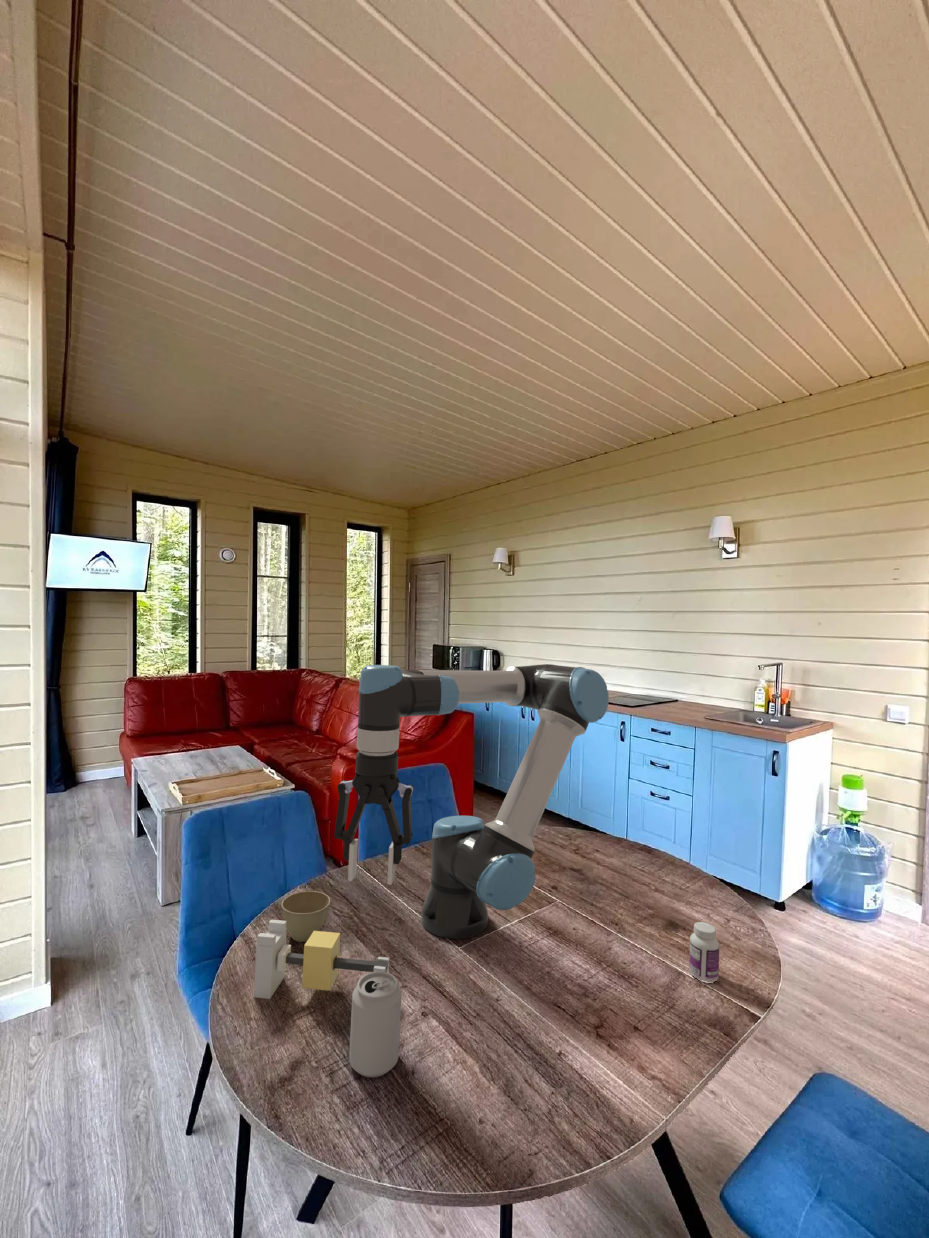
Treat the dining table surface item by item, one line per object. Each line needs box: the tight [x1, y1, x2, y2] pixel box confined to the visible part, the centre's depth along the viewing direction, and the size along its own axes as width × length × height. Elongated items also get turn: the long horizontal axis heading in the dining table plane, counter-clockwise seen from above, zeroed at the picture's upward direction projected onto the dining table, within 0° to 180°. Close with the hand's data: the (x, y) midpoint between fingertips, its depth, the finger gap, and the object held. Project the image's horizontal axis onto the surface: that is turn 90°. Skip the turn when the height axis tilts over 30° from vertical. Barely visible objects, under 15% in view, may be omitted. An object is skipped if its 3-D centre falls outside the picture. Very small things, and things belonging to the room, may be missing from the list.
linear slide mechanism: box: [253, 919, 390, 1000], centre depth 98 cm, size 23×6×11 cm, turn 85°
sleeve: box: [301, 930, 341, 992], centre depth 99 cm, size 5×5×7 cm
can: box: [348, 971, 403, 1078], centre depth 83 cm, size 8×8×12 cm
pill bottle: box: [688, 921, 720, 982], centre depth 108 cm, size 5×5×10 cm
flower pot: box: [281, 890, 331, 943], centre depth 116 cm, size 10×10×7 cm
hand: (371, 879), depth 98 cm, fingers open, 6 cm apart
